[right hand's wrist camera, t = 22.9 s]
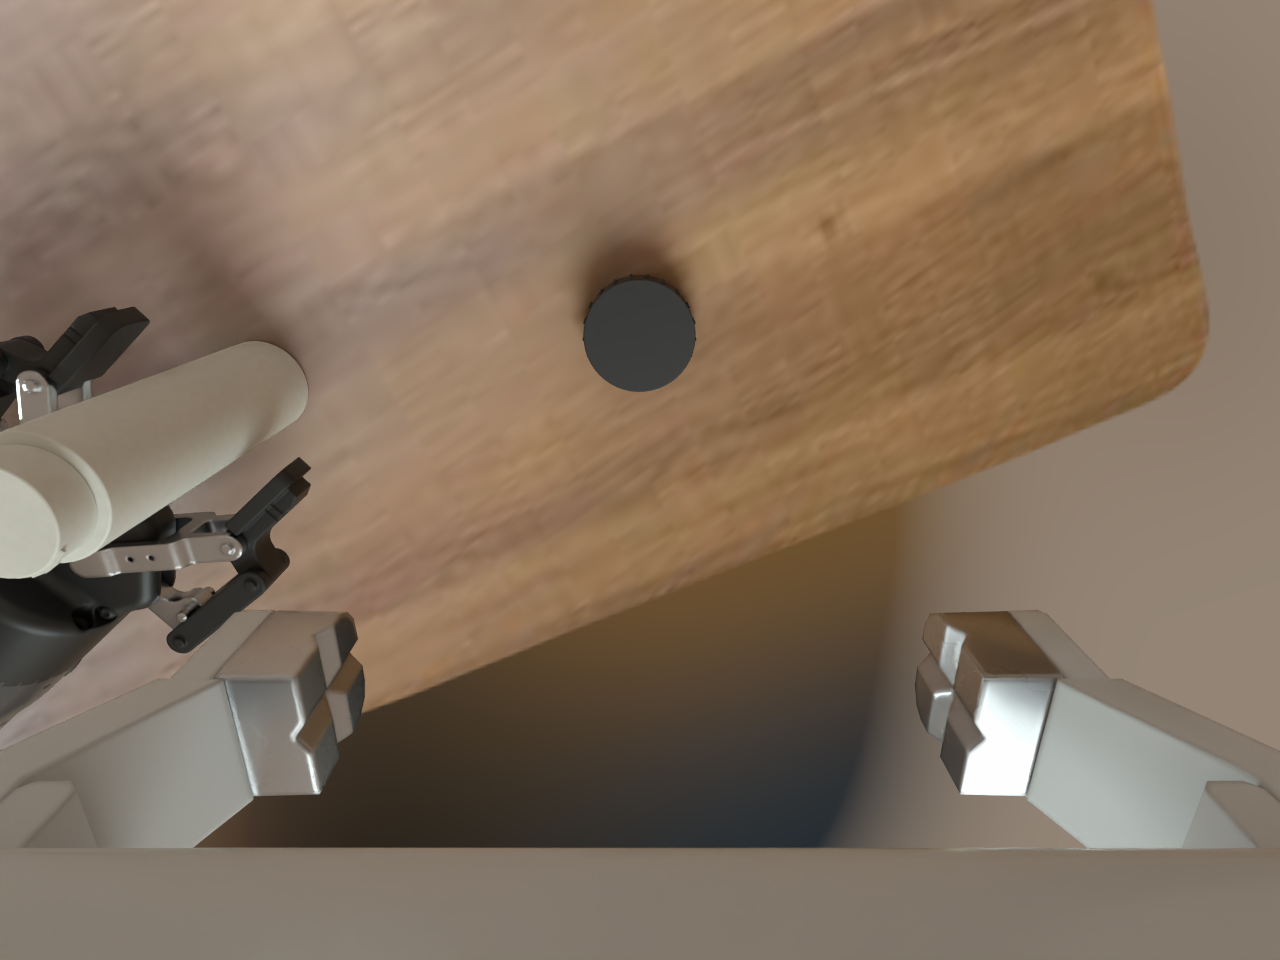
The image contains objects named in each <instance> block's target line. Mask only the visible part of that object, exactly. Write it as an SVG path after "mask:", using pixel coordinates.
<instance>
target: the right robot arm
mask: <svg viewBox="0 0 1280 960" xmlns="http://www.w3.org/2000/svg"><path fill="white" fill-rule="evenodd" d="M357 639H358V637H357V632H356V628H355V623H354V619H353V618H352V617H351V615H350V614H349V613H348V612H317V611H274V610H258V611H240V612H235V613H234V614H233V615H232V616H231V617H230V618H229V619H228V620H227V621H226V622H225V623H224V624H223V625H222V626H221V627H220V628H219V629H218V630H217V631H216V632H215V633H214V634H213V635H212V636H211V637H210V638H209V639H208V640H207V641H206V642H205V643H204V644H203V645H202V646H201V647H200V649H199V650H198V651H197V652H196V653H195V654H194V655H193V656H192V657H191V658H190V659H189V660H188V661H187V662H186V663H185V664H184V665H183V666H182V667H181V668H180V669H179V670H178V671H177V672H176V673H175V674H174V675H173V676H172V677H171V678H170V679H157V680H154V681H152V682H150V683H148V684H146V685H144V686H141V687H139V688H137V689H135V690H133V691H130V692H128V693H126V694H124V695H122V696H119V697H117V698H115V699H113V700H111V701H108V702H106V703H104V704H102V705H100V706H97V707H95V708H93V709H91V710H89V711H86V712H84V713H82V714H80V715H78V716H75V717H73V718H71V719H69V720H67V721H64V722H62V723H60V724H58V725H56V726H53V727H51V728H49V729H47V730H45V731H42V732H40V733H38V734H36V735H34V736H31V737H29V738H27V739H25V740H23V741H21V742H18V743H16V744H14V745H12V746H10V747H7V748H5V749H3V750H1V751H0V960H1280V751H1279V750H1277V749H1274V748H1272V747H1270V746H1268V745H1266V744H1263V743H1261V742H1259V741H1257V740H1255V739H1253V738H1250V737H1248V736H1246V735H1244V734H1242V733H1239V732H1237V731H1235V730H1233V729H1231V728H1228V727H1226V726H1224V725H1222V724H1220V723H1217V722H1215V721H1213V720H1211V719H1209V718H1207V717H1204V716H1202V715H1200V714H1198V713H1195V712H1193V711H1191V710H1189V709H1187V708H1185V707H1182V706H1180V705H1178V704H1176V703H1174V702H1171V701H1169V700H1167V699H1165V698H1163V697H1160V696H1158V695H1156V694H1154V693H1152V692H1150V691H1147V690H1145V689H1143V688H1141V687H1139V686H1136V685H1134V684H1132V683H1130V682H1128V681H1125V680H1123V679H1110V678H1109V677H1108V676H1107V675H1106V674H1105V673H1104V672H1103V671H1102V670H1101V669H1100V668H1099V667H1098V666H1097V665H1096V664H1095V663H1094V662H1093V661H1092V660H1091V659H1090V658H1089V657H1088V656H1087V655H1086V654H1085V653H1084V651H1083V650H1082V649H1081V648H1080V647H1079V646H1078V645H1077V644H1076V643H1075V642H1074V641H1073V640H1072V639H1071V638H1070V637H1069V636H1068V635H1067V634H1066V633H1065V632H1064V631H1063V630H1062V629H1061V628H1060V627H1059V626H1058V625H1057V624H1056V623H1055V622H1054V621H1053V620H1052V619H1051V618H1050V616H1049V615H1047V614H1046V613H1044V612H1041V611H1039V610H1024V611H1000V612H961V613H930V614H929V616H928V618H927V620H926V622H925V626H924V632H923V637H922V639H923V641H924V643H925V644H926V646H927V648H928V649H929V651H930V653H929V655H928V656H927V657H926V658H925V659H924V660H923V661H922V662H921V663H920V664H919V665H918V666H917V674H916V682H915V692H916V704H917V708H918V711H919V715H920V718H921V721H922V723H923V725H924V727H925V729H926V731H927V733H929V734H930V735H932V736H933V737H935V738H936V739H938V740H939V741H941V742H942V743H943V744H942V749H941V755H940V757H941V759H942V761H943V763H944V765H945V766H946V768H947V770H948V772H949V774H950V776H951V778H952V779H953V781H954V783H955V785H956V787H957V789H958V791H959V792H960V794H976V795H1011V796H1027V798H1026V799H1027V800H1028V801H1030V802H1031V803H1032V804H1033V805H1035V806H1036V807H1037V808H1038V809H1040V810H1041V811H1042V812H1043V813H1045V814H1046V815H1047V816H1048V817H1050V818H1051V819H1052V820H1053V821H1055V822H1056V823H1057V824H1058V825H1060V826H1061V827H1062V828H1063V829H1065V830H1066V831H1067V832H1069V833H1070V834H1071V835H1072V836H1074V837H1075V838H1076V839H1077V840H1079V841H1080V842H1081V843H1082V844H1084V845H1085V846H1086V847H1087V848H193V847H194V846H195V845H197V844H198V843H199V842H200V841H202V840H203V839H204V838H205V837H207V836H208V835H209V834H210V833H212V832H213V831H214V830H215V829H217V828H218V827H219V826H221V825H222V824H223V823H224V822H226V821H227V820H228V819H229V818H231V817H232V816H233V815H234V814H236V813H237V812H238V811H239V810H241V809H242V808H243V807H244V806H246V805H247V804H248V803H249V802H251V801H252V800H253V796H268V795H304V794H320V793H321V791H322V789H323V787H324V785H325V783H326V781H327V780H328V778H329V776H330V774H331V772H332V770H333V768H334V766H335V765H336V763H337V761H338V759H339V757H340V754H339V749H338V744H337V743H338V742H339V741H341V740H342V739H344V738H345V737H347V736H348V735H350V734H351V733H353V731H354V729H355V727H356V725H357V723H358V721H359V719H360V715H361V711H362V707H363V702H364V698H365V679H364V673H363V666H362V665H361V664H360V663H359V662H358V661H357V660H356V659H355V658H354V657H353V656H352V654H351V653H350V651H351V649H352V648H353V646H354V644H355V643H356V641H357Z"/></svg>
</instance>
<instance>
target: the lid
mask: <svg viewBox="0 0 1280 960" xmlns="http://www.w3.org/2000/svg"><path fill="white" fill-rule="evenodd" d="M589 308H590V310H589V313H588V315H587V317H586V318H585V320H584V323H583V324H585V326H584V337H583V341H584V345H585V350H586V353H587V357H588V359H589V361H590V363H591V364H592V366H593V368H594V369H595V370H596V371H597V373H598V374H599V375H600V376H601V377H602V378H603V379H605V380H606V381H607V382H609V383H610V384H612V385H614V386H616V387H618V388H621V389H624V390H628V391H635V392H645V391H651V390H655V389H658V388H661V387H663V386H665V385H667V384H669V383H670V382H672V381H673V380H674V379H675V378H677V377H678V376H679V375H680V374H681V373H682V371H683V370H684V369H685V367H686V366H687V364H688V362H689V361H690V358H691V357H692V354H693V350H694V345H695V341H696V337H695V326H694V324H695V321H694V318H693V317H692V315H691V313H690V310H689V308H690V307H689V304H688V303H687V302H686V303H685V301H684V299H683V298H682V297H681V295H680V293H679V291H678V289H676V290H675V289H674V288H673V287H671V286H670V285H669V284H667V283H666V282H665V280H659V279H657V278H653V277H649V275H648V274H647V275H646V276H632V274H631V275H630V277H625V278H622V279H619V280H616V279H615V280H614V282H613V283H612V284H610V285H608V286H607V287H606V288H605V289H604V290H603V289H601V290H600V293H599V295H598V296H597V297H596V299H595V300H594V302H591V304H590V306H589Z"/></svg>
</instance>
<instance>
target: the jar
mask: <svg viewBox="0 0 1280 960" xmlns="http://www.w3.org/2000/svg"><path fill="white" fill-rule="evenodd" d="M307 400H308V385H307V381H306V378H305V375H304V373H303V371H302V369H301V367H300V366H299V364H298V363H297V362H296V361H295V360H294V359H293V358H292V357H291V356H290V355H289V354H288V353H287V352H285V351H284V350H282V349H281V348H279V347H277V346H275V345H272V344H269V343H266V342H260V341H248V342H243V343H240V344H237V345H234V346H232V347H229V348H226V349H224V350H221V351H218V352H215V353H213V354H210V355H207V356H205V357H202V358H199V359H196V360H194V361H191V362H188V363H186V364H183V365H180V366H177V367H175V368H172V369H169V370H167V371H164V372H161V373H158V374H156V375H153V376H150V377H148V378H145V379H142V380H139V381H137V382H134V383H131V384H129V385H126V386H123V387H120V388H118V389H115V390H112V391H110V392H107V393H104V394H101V395H99V396H96V397H93V398H91V399H88V400H85V401H82V402H80V403H77V404H74V405H72V406H69V407H66V408H63V409H61V410H58V411H55V412H53V413H50V414H47V415H44V416H42V417H39V418H36V419H34V420H31V421H28V422H25V423H23V424H20V425H17V426H15V427H12V428H9V429H6V430H4V431H1V432H0V578H17V579H19V578H27V577H32V578H34V577H37V576H39V575H42V574H44V573H47V572H49V571H51V570H52V569H53V568H54V567H55V566H57V565H58V564H59V563H68V562H74V561H78V560H81V559H84V558H86V557H88V556H90V555H92V554H93V553H95V552H96V551H98V550H99V549H101V548H102V547H104V546H105V545H107V544H108V543H110V542H112V541H113V540H115V539H116V538H118V537H119V536H121V535H122V534H124V533H125V532H127V531H128V530H130V529H131V528H133V527H134V526H136V525H137V524H139V523H140V522H142V521H144V520H145V519H147V518H148V517H150V516H151V515H153V514H154V513H156V512H157V511H159V510H160V509H162V508H163V507H165V506H166V505H168V504H169V503H171V502H172V501H174V500H176V499H177V498H179V497H180V496H182V495H183V494H185V493H186V492H188V491H189V490H191V489H192V488H194V487H195V486H197V485H198V484H200V483H201V482H203V481H204V480H206V479H208V478H209V477H211V476H212V475H214V474H215V473H217V472H218V471H220V470H221V469H223V468H224V467H226V466H227V465H229V464H230V463H232V462H233V461H235V460H236V459H238V458H240V457H241V456H243V455H244V454H246V453H247V452H249V451H250V450H252V449H253V448H255V447H256V446H258V445H259V444H261V443H262V442H264V441H265V440H267V439H268V438H270V437H272V436H273V435H275V434H276V433H278V432H279V431H281V430H282V429H284V428H285V427H287V426H288V425H290V424H291V423H293V422H294V421H296V420H297V419H298V418H299V417H300V416H301V414H302V413H303V411H304V409H305V407H306V405H307Z"/></svg>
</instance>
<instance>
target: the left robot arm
mask: <svg viewBox="0 0 1280 960" xmlns="http://www.w3.org/2000/svg"><path fill="white" fill-rule="evenodd" d="M149 322H150V320H149V319H148V318H146V317H145V316H144V315H143V314H142V313H141V312H140V311H139V310H138V309H137V308H135V307H130V308H126V309H121V310H117V309H116V308H115V307H113V308H108V309H103V310H98V311H93V312H89V313H87V314H84V315H82V316H79V317H78V318H77V319H76V320H75V321H74V322H73V323H72V325H71V327H69V328H68V329H67V330H66V331H65V333H64V334H63V335H62V336H61V337H60V338H59V340H58V341H57V342H56V343H55V344H54V345H53V346H52V348H51V349H50V350H49V351H46V350H45V349H44V347H43V345H42V344H41V343H40V342H39V341H38V340H37V339H36V338H34V337H31V336H21V337H16V338H13V339H11V340H8V341H4V342H0V418H1V417H2V416H3V414H4V413H5V412H6V410H7V409H8V407H9V406H10V405H11V403H12V402H13V401H14V399H15V398H16V397H17V395H18V406H19V416H20V422H19V424H18V425H20V424H23V423H25V422H28V421H31V420H34V419H36V418H39V417H42V416H44V415H47V414H50V413H53V412H55V411H58V410H61V409H63V408H66V407H69V406H72V405H74V404H77V403H80V402H82V401H85V400H88V399H91V398H92V384H91V380H92V379H95V378H98V377H101V376H102V375H103V374H104V373H105V372H106V371H107V370H108V369H109V368H110V366H111V365H112V364H113V363H114V362H115V361H116V360H117V359H118V358H119V356H120V355H121V354H122V353H123V352H124V351H125V350H126V349H127V348H128V346H129V345H130V344H131V343H132V342H133V341H134V340H135V339H136V338H137V336H138V335H139V334H140V333H141V332H142V331H143V330H144V329H145V328H146V327H147V325H148V324H149ZM7 428H8V423H7V422H6V421H5V420H4V419H0V432H1V431H3V430H5V429H7ZM310 469H311V467H310V466H309V465H307V464H306V463H305V462H304V461H303V460H302V459H301V458H300V457H298V458H297V459H296V460H294V461H293V462H292V463H290V464H289V465H288V466H287V467H285V468H284V469H283V470H282V471H280V472H279V473H278V474H277V475H276V476H275V477H274V478H273V479H272V480H271V481H270V482H269V483H268V484H267V485H265V486H264V487H263V488H262V489H261V490H260V491H259V492H258V493H257V494H256V495H255V496H254V497H253V498H252V499H251V500H250V501H249V502H248V503H247V504H246V505H245V506H244V507H243V508H242V509H240V510H239V511H238V512H237V513H236V514H230V515H216V514H215V512H200V513H185V514H173V512H172V510H171V508H170V507H169V506H168V505H169V504H170V503H169V504H168V505H166V506H165V507H163V508H162V509H160V510H159V511H157V512H156V513H154V514H153V515H151V516H150V517H148V518H147V519H145V520H144V521H142V522H140V523H139V524H137V525H136V526H134V527H133V528H131V529H130V530H128V531H127V532H125V533H124V534H122V535H121V536H119V537H118V538H116V539H115V540H113V541H112V542H110V543H108V544H107V545H105V546H104V547H102V548H101V549H99V550H98V551H96V552H95V553H93V554H92V555H90V556H88V557H86V558H84V559H81V560H78V561H74V562H68V563H59V564H58V565H57V566H55V567H54V568H53V569H52V570H51V571H49V572H47V573H44V574H42V575H39V576H37V577H34V578H32V577H27V578H19V579H17V578H0V729H1V728H2V727H4V726H5V725H6V724H7V723H8V722H9V721H10V720H11V719H12V718H13V717H14V716H15V715H16V714H17V713H18V712H20V711H21V710H23V709H24V708H26V707H28V706H29V705H31V704H32V703H33V702H35V701H36V700H37V699H39V698H40V697H41V696H43V695H44V694H45V693H46V692H47V691H48V690H50V689H51V688H52V687H53V686H54V685H55V684H56V683H57V682H58V681H59V680H60V679H61V678H62V677H63V676H66V675H67V674H68V673H70V672H72V671H73V670H74V669H75V667H76V666H77V665H78V664H79V662H80V661H81V659H82V658H83V657H84V656H85V655H86V654H87V653H88V652H89V651H90V650H91V649H92V648H93V647H94V646H95V645H96V644H97V643H98V642H99V641H101V640H102V639H103V638H104V637H105V636H106V635H107V634H108V633H109V632H110V631H111V630H112V629H113V628H114V627H115V626H116V625H117V624H118V623H119V622H120V621H121V620H122V619H124V618H125V617H126V616H127V615H128V614H129V613H130V612H131V611H134V610H140V609H144V608H147V607H148V608H149V609H150V610H151V611H152V612H154V613H155V614H156V615H157V616H158V617H159V618H161V619H162V620H163V621H164V622H165V623H167V624H168V625H169V626H170V627H171V628H172V629H173V630H172V631H171V632H170V633H169V634H168V636H167V643H168V645H169V647H170V648H171V649H172V650H174V651H176V652H178V653H188V652H190V651H191V650H193V649H194V648H195V647H196V646H198V645H199V644H200V643H201V642H203V641H204V640H205V639H206V638H208V637H209V636H210V635H211V634H213V633H214V632H215V631H217V630H218V629H219V628H220V627H221V626H222V625H223V624H224V623H225V622H226V621H227V620H228V619H229V618H230V617H231V616H232V615H233V614H234V613H235V612H240V611H242V610H243V609H244V608H246V607H247V606H248V605H249V604H251V603H252V602H253V601H254V600H256V599H257V598H258V597H259V596H261V595H262V594H263V593H264V592H265V591H266V590H267V589H268V588H269V587H270V586H271V584H272V583H273V582H274V581H275V580H276V579H277V578H278V577H279V576H280V575H281V574H282V573H283V572H284V571H285V570H286V569H287V567H288V566H289V564H290V559H289V557H288V555H287V554H286V553H285V552H284V551H283V550H281V549H278V548H275V547H274V545H273V544H272V542H271V539H270V531H271V529H272V527H273V526H274V525H275V524H276V523H277V522H278V521H279V520H281V519H282V518H283V517H284V516H285V515H286V514H287V513H288V512H289V511H290V510H291V509H292V508H293V507H294V506H295V505H297V504H298V503H299V502H300V501H301V500H302V499H303V498H304V497H305V496H306V495H307V494H308V491H309V488H310V486H311V484H310V483H309V482H307V481H306V480H305V479H304V478H303V476H304V475H305V474H306V473H307V472H308V471H309V470H310ZM224 561H231V563H232V564H233V566H234V568H235V569H236V571H237V572H238V574H237V575H236V576H235V577H234V578H232V579H231V580H230V581H229V582H227V583H226V584H225V585H224V586H223V587H221V588H220V589H219V590H218V591H216V592H215V591H214V589H213V588H211V587H206V588H205V589H203V588H194V589H192V590H190V591H187V592H182V591H178V590H176V589H174V588H173V585H174V582H175V578H176V570H177V569H181V568H184V567H187V566H189V565H191V564H195V563H209V562H224Z"/></svg>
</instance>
